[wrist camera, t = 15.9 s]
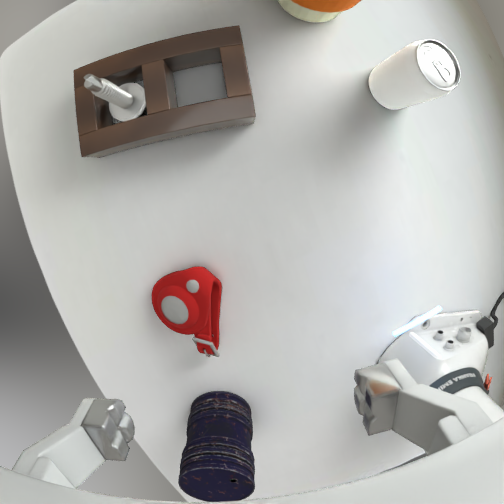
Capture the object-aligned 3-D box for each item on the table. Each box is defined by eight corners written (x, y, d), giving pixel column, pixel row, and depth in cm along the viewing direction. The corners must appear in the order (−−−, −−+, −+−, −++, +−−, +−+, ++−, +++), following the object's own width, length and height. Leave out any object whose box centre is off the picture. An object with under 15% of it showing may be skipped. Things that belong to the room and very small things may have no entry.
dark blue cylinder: (218, 439, 47) (214, 508, 32) (177, 408, 45) (161, 480, 30) (264, 415, 45) (271, 489, 31) (224, 380, 43) (219, 458, 29)
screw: (136, 130, 34) (108, 111, 33) (159, 98, 33) (130, 80, 32) (88, 115, 21) (54, 92, 20) (121, 67, 20) (85, 46, 20)
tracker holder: (136, 309, 39) (169, 256, 34) (154, 295, 43) (187, 245, 38) (206, 371, 38) (251, 327, 34) (219, 352, 42) (262, 309, 38)
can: (385, 56, 32) (432, 25, 20) (418, 92, 33) (472, 73, 22) (357, 83, 33) (401, 54, 22) (392, 120, 34) (445, 107, 23)
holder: (90, 79, 32) (73, 70, 27) (239, 41, 31) (239, 25, 27) (99, 157, 34) (81, 157, 30) (253, 123, 34) (255, 116, 30)
